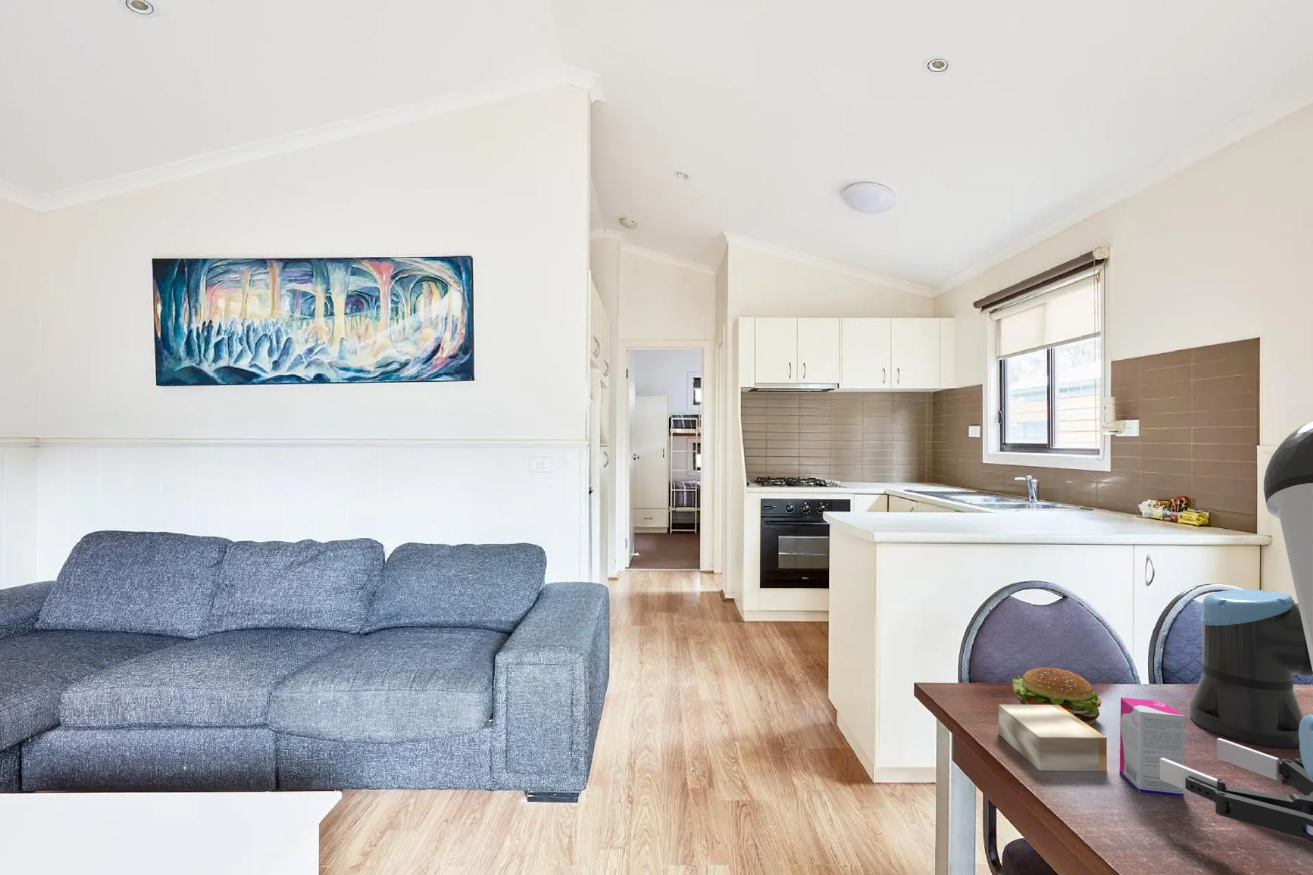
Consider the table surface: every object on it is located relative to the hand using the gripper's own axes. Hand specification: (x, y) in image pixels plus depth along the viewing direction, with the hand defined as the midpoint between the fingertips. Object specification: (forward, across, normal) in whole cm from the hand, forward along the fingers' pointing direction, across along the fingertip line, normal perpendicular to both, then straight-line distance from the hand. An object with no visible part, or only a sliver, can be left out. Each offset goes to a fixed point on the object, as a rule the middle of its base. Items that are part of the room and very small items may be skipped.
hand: (1190, 757), depth 88 cm
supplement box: (+5, 0, -7) cm, 8 cm away
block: (+18, -3, -6) cm, 19 cm away
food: (+27, +11, -7) cm, 30 cm away
